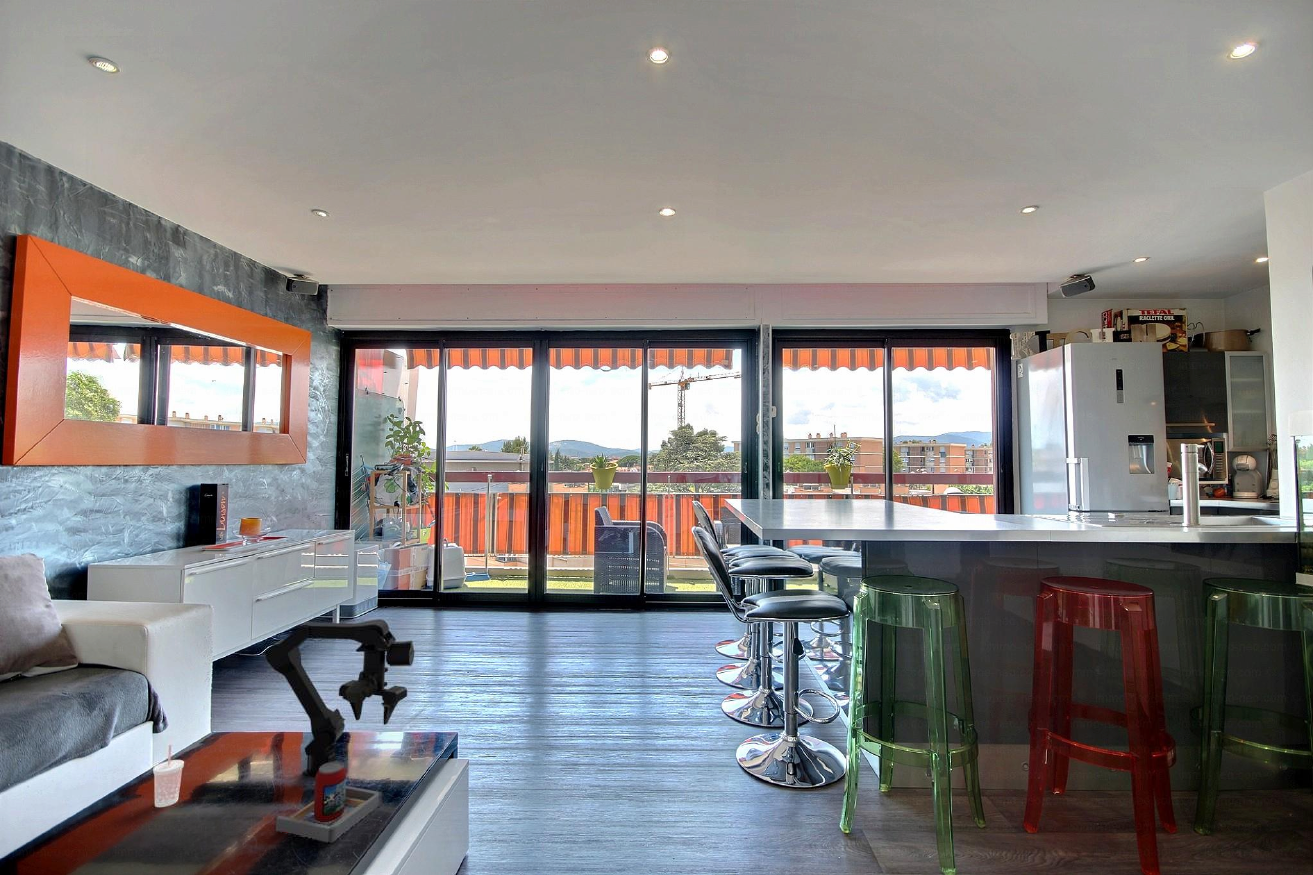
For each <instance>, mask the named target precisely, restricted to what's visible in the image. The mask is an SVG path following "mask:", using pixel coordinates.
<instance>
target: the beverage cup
mask: <svg viewBox="0 0 1313 875" xmlns="http://www.w3.org/2000/svg"><path fill="white" fill-rule="evenodd" d="M167 754H168V756H167V757H168V758H167V761H163V762H161V763H159V764H157V765H155V766H154V767H153V769H152V770H153V771H152V772H153V774H154V775H153V776H154V780H153V781H154V806H155V807H156V808H165V807H169V806H172V805H174V804H176V803H177V802H178V800H179V794H180V787H181V783H182V781H181V779H182V772H183V768H184V766H185V765H184V764H185V761H184V760H181V759H172V760H171V756H172V744H170V745H168V753H167Z"/></svg>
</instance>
